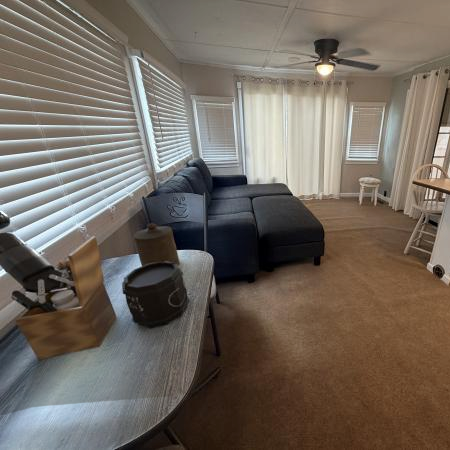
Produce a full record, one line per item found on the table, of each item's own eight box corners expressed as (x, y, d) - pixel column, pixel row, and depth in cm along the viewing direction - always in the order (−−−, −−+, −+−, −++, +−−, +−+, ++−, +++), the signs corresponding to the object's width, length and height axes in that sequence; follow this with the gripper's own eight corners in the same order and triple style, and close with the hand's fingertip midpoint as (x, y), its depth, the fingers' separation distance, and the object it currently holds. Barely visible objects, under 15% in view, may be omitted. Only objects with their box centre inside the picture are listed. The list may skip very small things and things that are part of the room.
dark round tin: (192, 289, 95) (184, 255, 89) (188, 321, 79) (178, 281, 73) (141, 300, 90) (129, 264, 84) (125, 336, 74) (109, 294, 68)
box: (38, 360, 67) (14, 320, 61) (65, 327, 78) (47, 291, 73) (99, 346, 70) (82, 307, 65) (116, 317, 82) (103, 282, 76)
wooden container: (184, 259, 118) (175, 217, 110) (171, 275, 104) (159, 229, 96) (154, 260, 118) (142, 218, 109) (137, 277, 104) (121, 231, 96)
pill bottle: (91, 315, 77) (78, 285, 73) (89, 327, 72) (75, 296, 68) (64, 324, 73) (49, 293, 69) (60, 337, 68) (43, 305, 64)
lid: (67, 255, 60) (71, 255, 60) (92, 236, 71) (95, 236, 71) (79, 306, 65) (83, 306, 65) (101, 280, 76) (104, 280, 76)
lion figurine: (59, 282, 102) (51, 263, 99) (71, 275, 107) (63, 257, 104) (93, 281, 102) (85, 263, 98) (103, 274, 107) (96, 257, 103)
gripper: (-10, 271, 60) (41, 316, 61) (58, 246, 73) (99, 284, 74) (-12, 285, 63) (36, 328, 64) (53, 259, 76) (92, 295, 77)
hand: (70, 304), depth 69 cm, fingers closed on pill bottle, 6 cm apart
